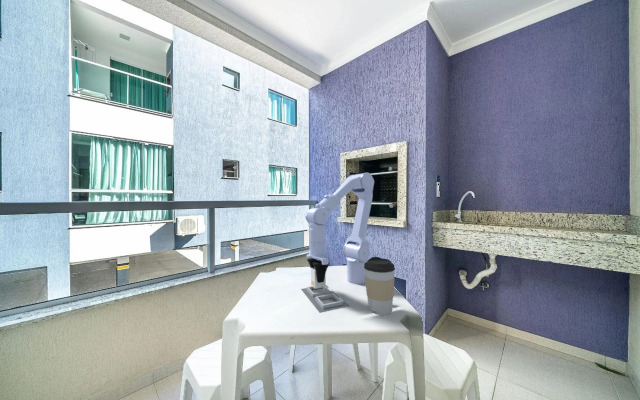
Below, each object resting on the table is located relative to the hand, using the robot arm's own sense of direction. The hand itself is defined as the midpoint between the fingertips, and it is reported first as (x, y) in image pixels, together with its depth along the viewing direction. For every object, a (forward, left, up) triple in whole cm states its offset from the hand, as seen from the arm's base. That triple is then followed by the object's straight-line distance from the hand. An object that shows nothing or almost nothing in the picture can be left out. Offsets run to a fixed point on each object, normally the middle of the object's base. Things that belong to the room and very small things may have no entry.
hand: (318, 279), depth 79 cm
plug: (0, 0, -2) cm, 2 cm away
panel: (0, +5, -5) cm, 7 cm away
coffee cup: (-13, +18, -5) cm, 23 cm away
